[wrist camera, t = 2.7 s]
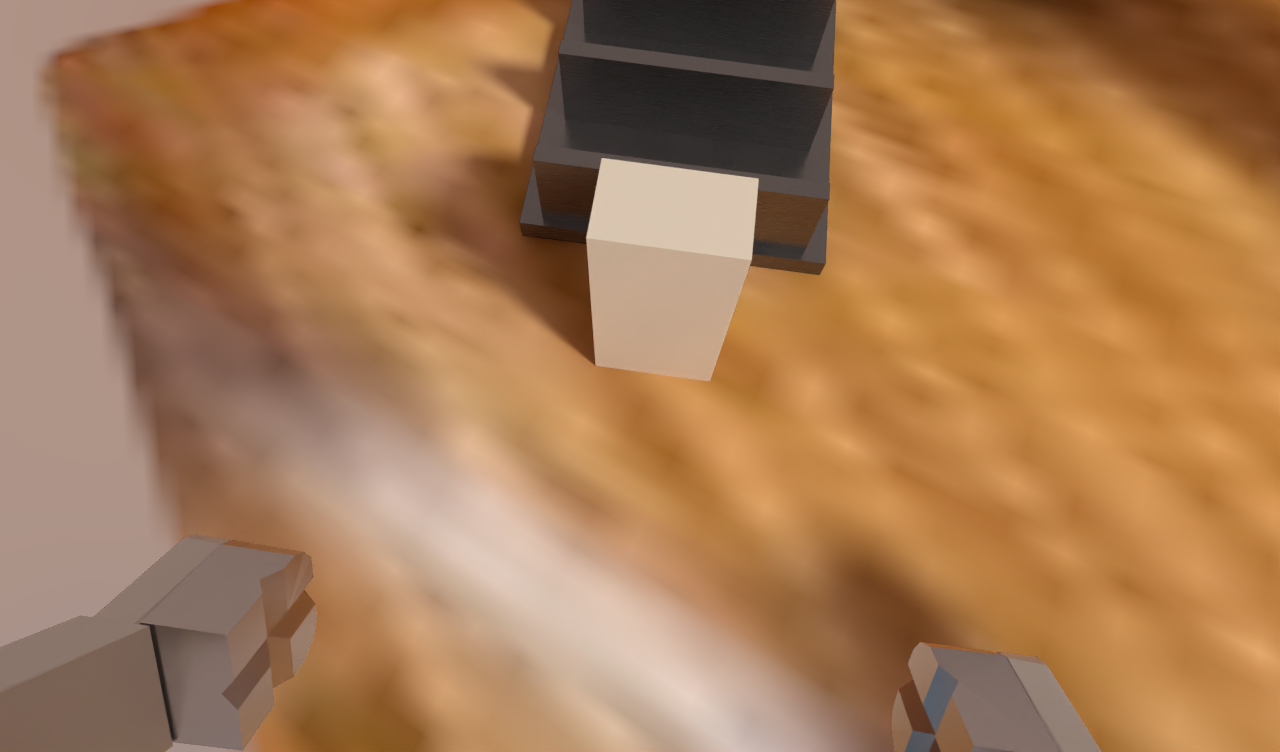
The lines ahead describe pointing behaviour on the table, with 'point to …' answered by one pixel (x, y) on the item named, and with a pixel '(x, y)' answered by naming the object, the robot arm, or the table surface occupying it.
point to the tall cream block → (667, 265)
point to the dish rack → (694, 112)
